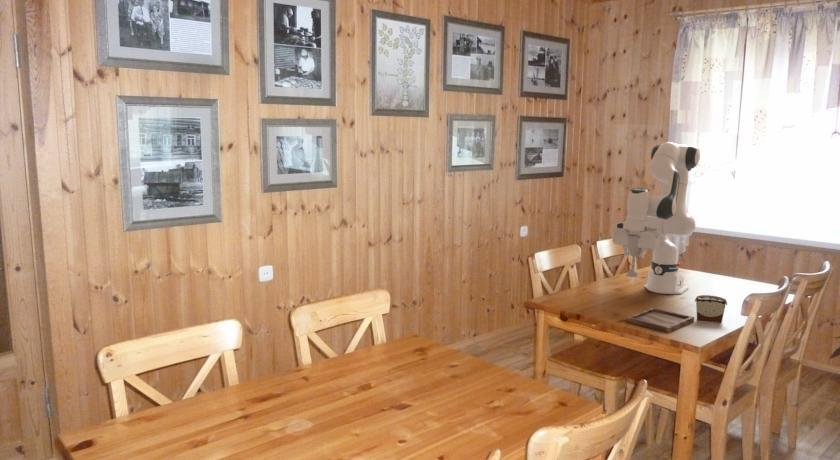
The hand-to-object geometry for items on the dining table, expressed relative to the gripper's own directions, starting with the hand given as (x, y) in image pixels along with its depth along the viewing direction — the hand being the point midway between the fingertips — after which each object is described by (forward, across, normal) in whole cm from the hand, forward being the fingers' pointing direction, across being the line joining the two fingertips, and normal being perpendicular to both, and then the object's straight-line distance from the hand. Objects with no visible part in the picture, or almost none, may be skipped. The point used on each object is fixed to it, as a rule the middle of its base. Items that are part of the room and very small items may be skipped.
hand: (634, 256), depth 273 cm
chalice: (+9, 0, 0) cm, 9 cm away
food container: (+24, -30, -9) cm, 39 cm away
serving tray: (+23, -18, +9) cm, 31 cm away
